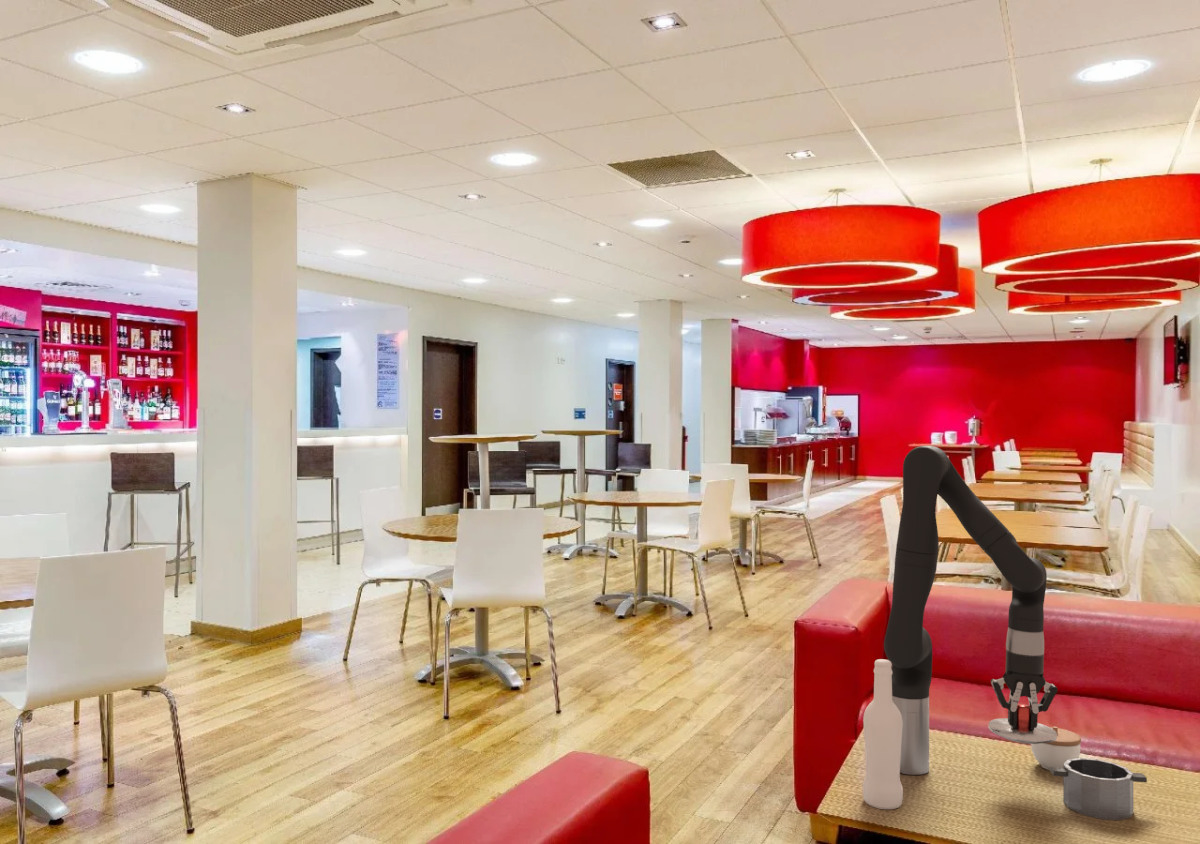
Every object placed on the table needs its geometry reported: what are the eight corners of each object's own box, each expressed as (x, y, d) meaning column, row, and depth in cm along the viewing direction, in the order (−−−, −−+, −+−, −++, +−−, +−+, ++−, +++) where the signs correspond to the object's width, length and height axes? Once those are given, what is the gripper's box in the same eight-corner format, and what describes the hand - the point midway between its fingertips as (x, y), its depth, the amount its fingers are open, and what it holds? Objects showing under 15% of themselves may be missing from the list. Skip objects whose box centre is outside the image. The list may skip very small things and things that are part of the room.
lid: (995, 744, 195) (996, 712, 195) (982, 723, 208) (983, 693, 208) (1064, 750, 192) (1065, 718, 192) (1047, 729, 206) (1048, 699, 205)
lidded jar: (1069, 760, 219) (1069, 720, 219) (1089, 776, 209) (1089, 735, 209) (1023, 758, 220) (1023, 719, 220) (1040, 774, 210) (1040, 733, 210)
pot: (1060, 815, 187) (1060, 776, 187) (1043, 792, 199) (1043, 755, 199) (1156, 823, 184) (1156, 783, 184) (1133, 799, 196) (1133, 761, 196)
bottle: (882, 813, 188) (882, 666, 188) (854, 799, 195) (854, 658, 195) (911, 806, 191) (911, 662, 192) (882, 792, 199) (883, 654, 199)
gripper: (994, 651, 198) (992, 731, 198) (1064, 656, 195) (1062, 737, 195) (987, 643, 205) (984, 720, 205) (1054, 648, 202) (1051, 725, 203)
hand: (1022, 728), depth 200 cm, fingers closed on lid, 3 cm apart
